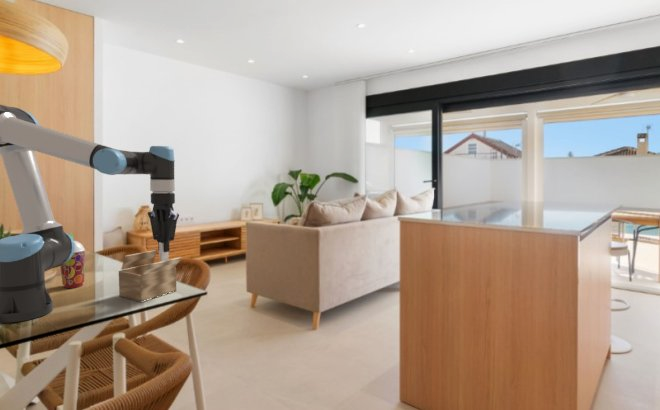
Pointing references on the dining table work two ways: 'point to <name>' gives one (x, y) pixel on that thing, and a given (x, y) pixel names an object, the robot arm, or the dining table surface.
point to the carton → (146, 283)
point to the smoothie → (74, 268)
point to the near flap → (162, 265)
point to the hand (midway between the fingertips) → (164, 260)
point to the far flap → (138, 259)
